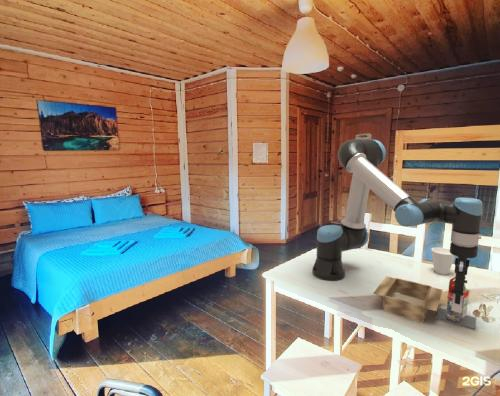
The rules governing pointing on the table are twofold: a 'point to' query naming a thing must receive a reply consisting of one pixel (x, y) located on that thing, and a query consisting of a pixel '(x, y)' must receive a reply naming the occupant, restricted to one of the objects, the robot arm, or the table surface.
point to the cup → (442, 260)
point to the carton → (412, 289)
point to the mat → (465, 322)
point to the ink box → (451, 314)
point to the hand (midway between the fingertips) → (457, 305)
